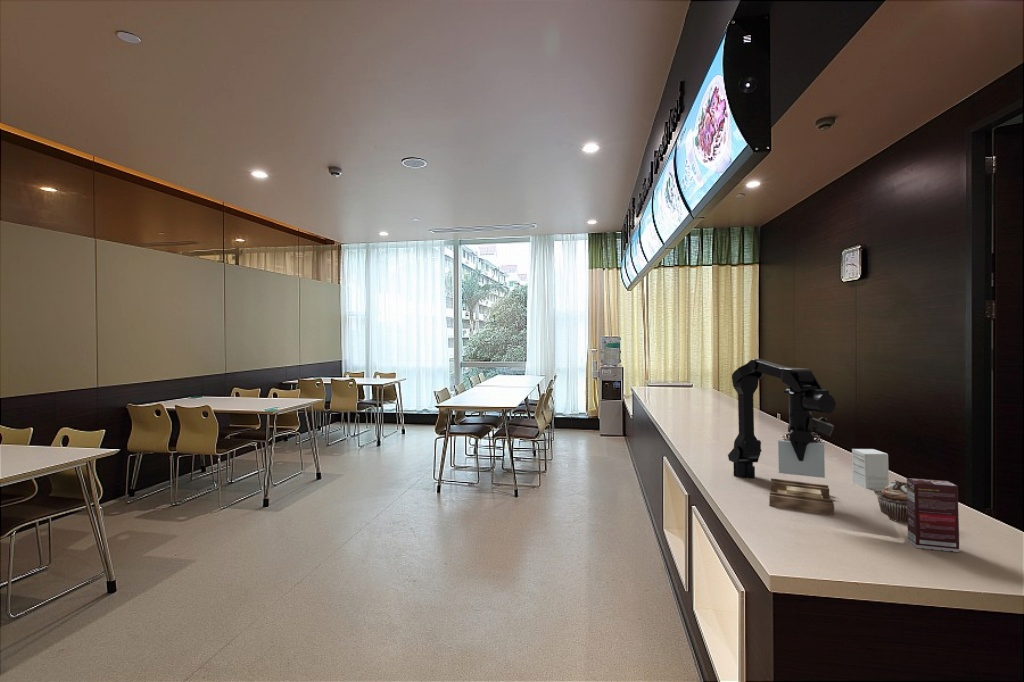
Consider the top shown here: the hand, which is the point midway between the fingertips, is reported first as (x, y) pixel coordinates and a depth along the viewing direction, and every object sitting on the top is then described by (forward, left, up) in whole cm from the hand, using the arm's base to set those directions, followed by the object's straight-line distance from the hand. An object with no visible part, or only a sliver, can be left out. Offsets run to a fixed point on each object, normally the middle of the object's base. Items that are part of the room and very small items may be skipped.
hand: (800, 460), depth 145 cm
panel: (0, 0, -4) cm, 4 cm away
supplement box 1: (+21, +29, -14) cm, 38 cm away
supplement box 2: (+27, -19, -14) cm, 36 cm away
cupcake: (+24, +1, -14) cm, 27 cm away
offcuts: (0, +1, -12) cm, 12 cm away
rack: (0, +1, -13) cm, 13 cm away
